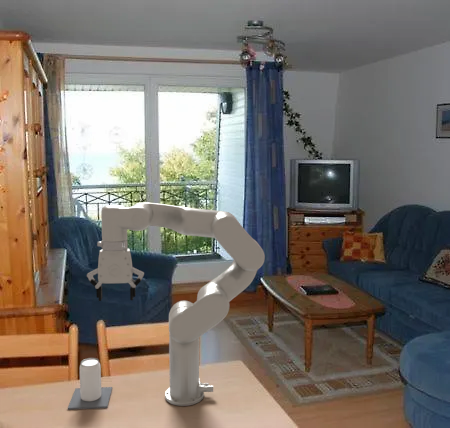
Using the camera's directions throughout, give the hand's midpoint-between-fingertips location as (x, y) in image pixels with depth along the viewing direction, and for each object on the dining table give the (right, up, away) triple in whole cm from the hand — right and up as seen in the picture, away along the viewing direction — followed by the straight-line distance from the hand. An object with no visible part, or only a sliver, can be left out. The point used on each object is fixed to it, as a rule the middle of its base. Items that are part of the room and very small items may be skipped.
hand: (116, 299), depth 151 cm
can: (-9, -32, +5) cm, 34 cm away
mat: (-9, -33, +5) cm, 35 cm away
